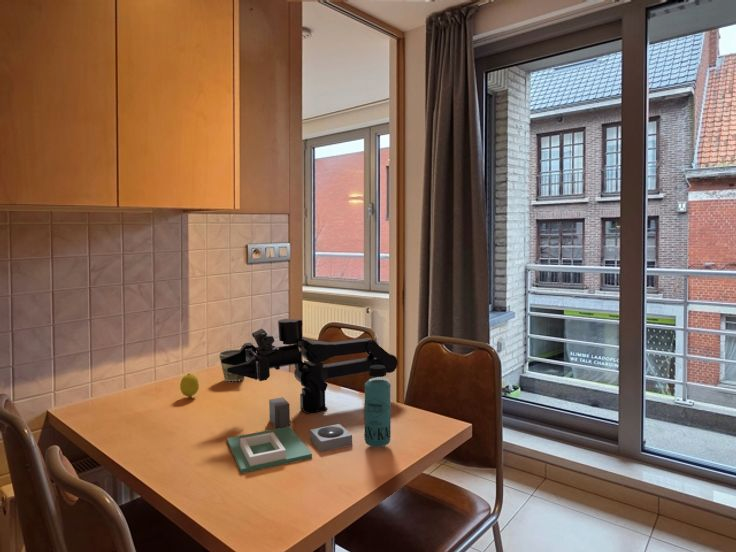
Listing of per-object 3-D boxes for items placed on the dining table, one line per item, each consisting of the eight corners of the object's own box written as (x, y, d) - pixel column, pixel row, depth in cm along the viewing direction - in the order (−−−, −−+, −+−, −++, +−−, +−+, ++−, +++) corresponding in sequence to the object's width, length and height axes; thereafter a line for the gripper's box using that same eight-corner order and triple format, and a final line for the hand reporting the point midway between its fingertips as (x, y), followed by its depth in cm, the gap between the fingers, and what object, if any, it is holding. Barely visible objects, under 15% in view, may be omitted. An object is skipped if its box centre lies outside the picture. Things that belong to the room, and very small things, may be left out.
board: (289, 430, 124) (289, 419, 124) (312, 457, 108) (311, 445, 108) (227, 441, 117) (226, 430, 117) (241, 473, 101) (241, 460, 101)
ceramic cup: (215, 380, 170) (213, 352, 169) (239, 374, 177) (238, 348, 177) (234, 387, 161) (233, 358, 161) (259, 380, 169) (258, 353, 168)
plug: (283, 418, 133) (283, 397, 133) (290, 426, 127) (290, 404, 126) (269, 420, 131) (269, 399, 131) (276, 429, 125) (275, 407, 124)
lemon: (202, 395, 153) (201, 371, 152) (191, 401, 148) (190, 376, 147) (188, 394, 155) (187, 370, 154) (176, 399, 149) (175, 375, 149)
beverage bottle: (363, 442, 116) (362, 362, 115) (389, 441, 117) (389, 361, 116) (365, 454, 110) (364, 370, 108) (393, 452, 111) (392, 369, 109)
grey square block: (339, 433, 122) (339, 423, 122) (352, 445, 115) (352, 434, 115) (310, 439, 119) (310, 428, 118) (321, 451, 111) (321, 440, 111)
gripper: (270, 323, 142) (216, 329, 135) (288, 335, 125) (228, 344, 118) (272, 358, 143) (219, 367, 136) (290, 376, 126) (231, 387, 120)
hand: (224, 365), depth 127 cm, fingers open, 9 cm apart
